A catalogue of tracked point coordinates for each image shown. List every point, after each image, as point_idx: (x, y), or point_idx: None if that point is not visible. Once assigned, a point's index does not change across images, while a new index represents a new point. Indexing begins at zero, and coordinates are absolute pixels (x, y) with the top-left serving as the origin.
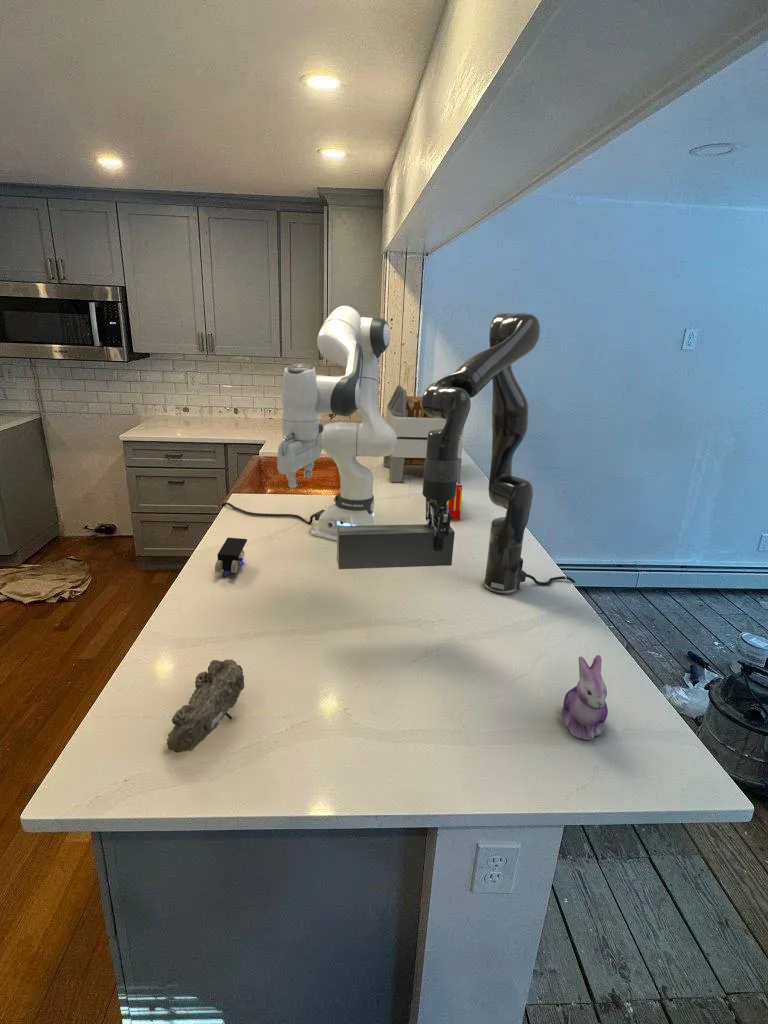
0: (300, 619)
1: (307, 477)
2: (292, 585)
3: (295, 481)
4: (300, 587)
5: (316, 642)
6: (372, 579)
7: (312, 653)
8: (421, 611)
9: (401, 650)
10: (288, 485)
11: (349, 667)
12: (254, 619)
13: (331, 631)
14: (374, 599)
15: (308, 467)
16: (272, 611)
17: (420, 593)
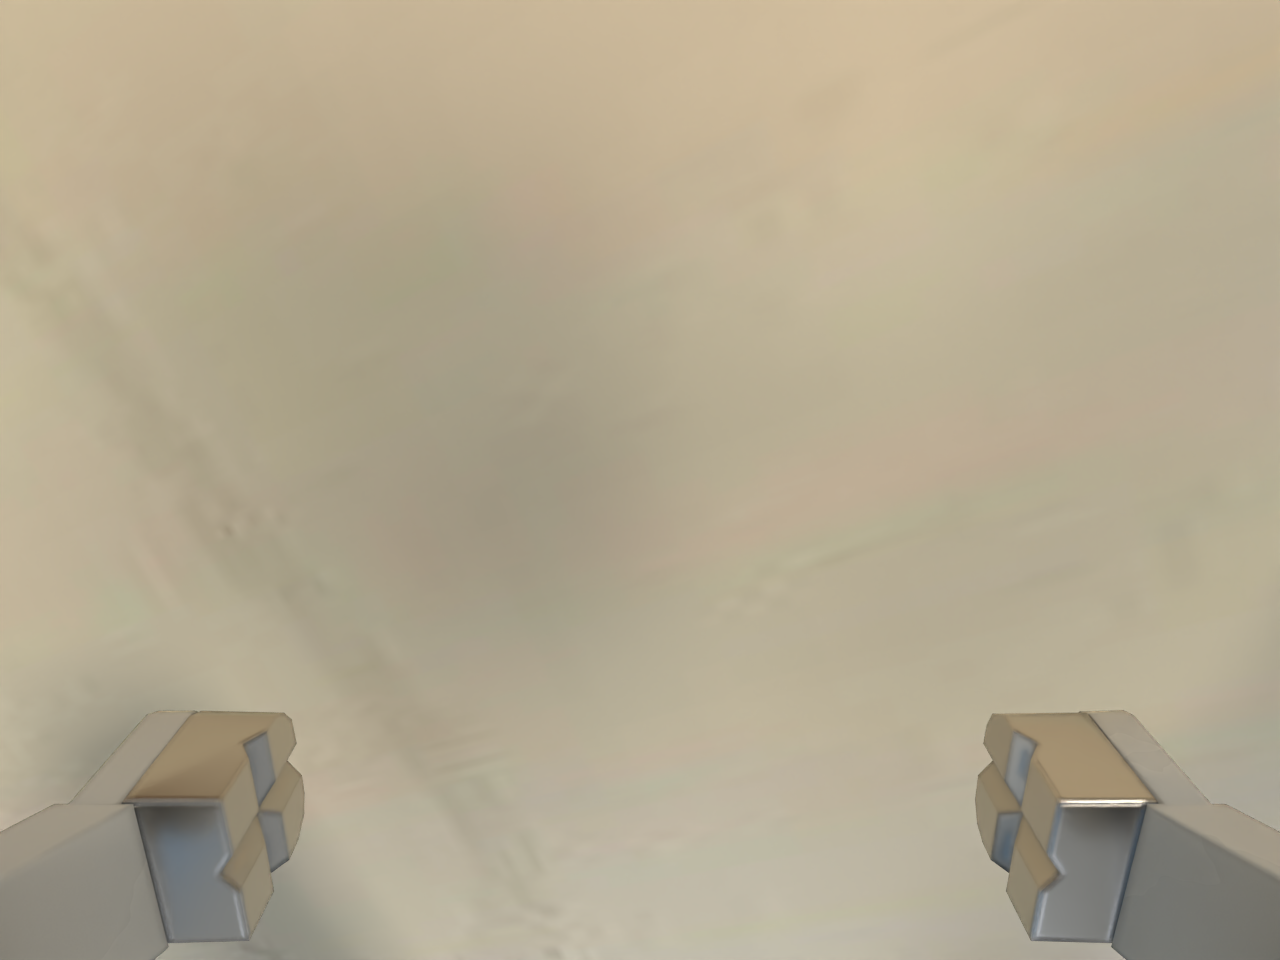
0: (307, 449)
1: (982, 793)
2: (652, 237)
3: (141, 942)
4: (644, 298)
5: (162, 595)
6: (879, 642)
7: (77, 611)
8: (623, 905)
9: (289, 899)
10: (140, 723)
11: (76, 768)
12: (181, 210)
13: (280, 623)
14: (656, 709)
15: (1235, 950)
16: (308, 268)
17: (792, 873)
